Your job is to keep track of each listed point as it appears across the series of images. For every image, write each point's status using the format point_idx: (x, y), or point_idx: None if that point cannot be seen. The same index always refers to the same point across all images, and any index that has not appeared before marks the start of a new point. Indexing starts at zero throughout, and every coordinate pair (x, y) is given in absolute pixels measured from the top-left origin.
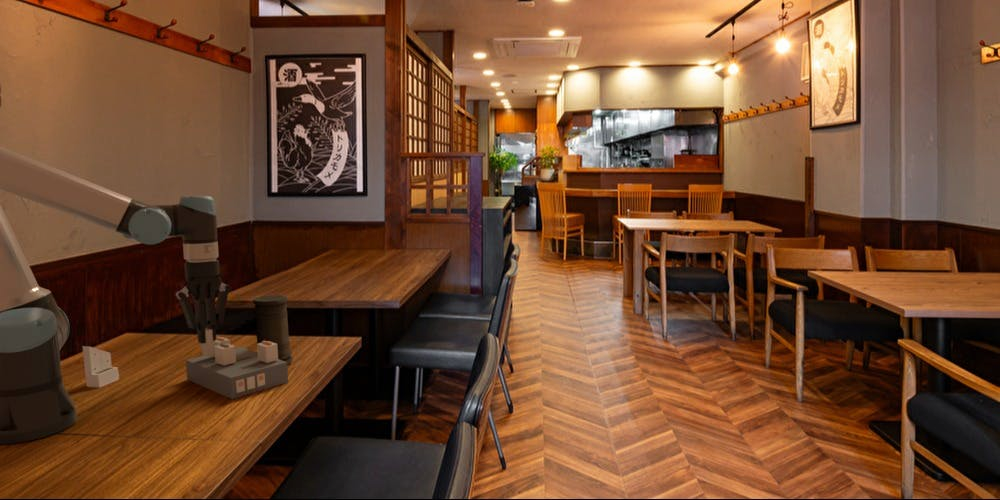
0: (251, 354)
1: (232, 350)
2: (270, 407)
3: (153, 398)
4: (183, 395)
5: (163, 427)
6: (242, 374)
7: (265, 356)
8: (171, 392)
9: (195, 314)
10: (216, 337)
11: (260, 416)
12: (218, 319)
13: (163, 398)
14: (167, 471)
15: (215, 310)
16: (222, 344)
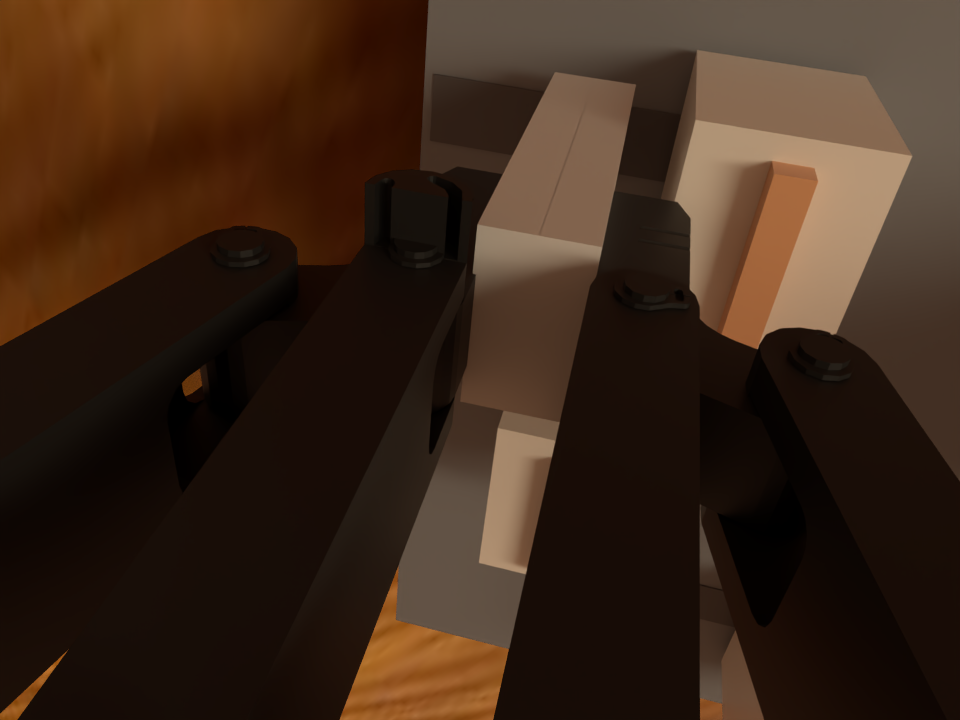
0: (936, 395)
1: None
2: (476, 693)
3: (121, 69)
4: (288, 213)
5: None
6: (475, 639)
7: (726, 698)
8: (253, 69)
9: (237, 434)
10: (765, 197)
11: (392, 704)
12: (722, 546)
13: (173, 139)
14: (29, 693)
15: (864, 561)
16: None
